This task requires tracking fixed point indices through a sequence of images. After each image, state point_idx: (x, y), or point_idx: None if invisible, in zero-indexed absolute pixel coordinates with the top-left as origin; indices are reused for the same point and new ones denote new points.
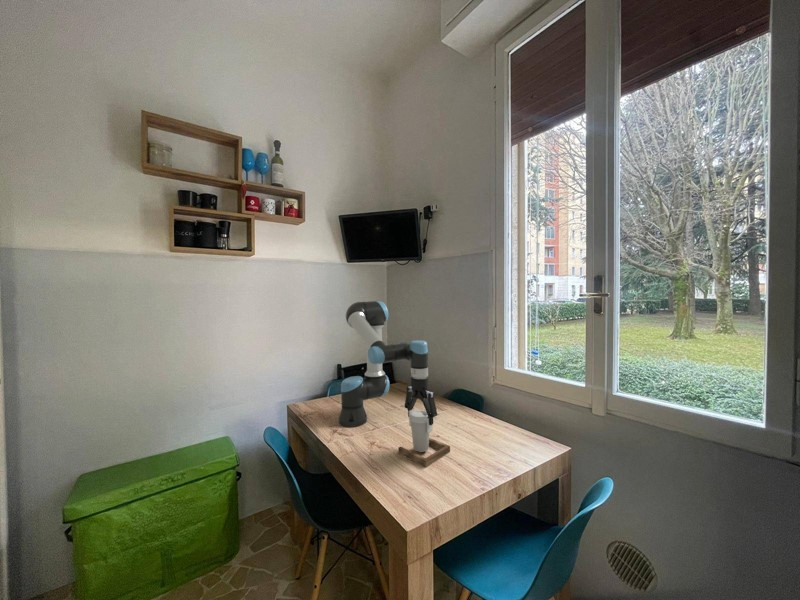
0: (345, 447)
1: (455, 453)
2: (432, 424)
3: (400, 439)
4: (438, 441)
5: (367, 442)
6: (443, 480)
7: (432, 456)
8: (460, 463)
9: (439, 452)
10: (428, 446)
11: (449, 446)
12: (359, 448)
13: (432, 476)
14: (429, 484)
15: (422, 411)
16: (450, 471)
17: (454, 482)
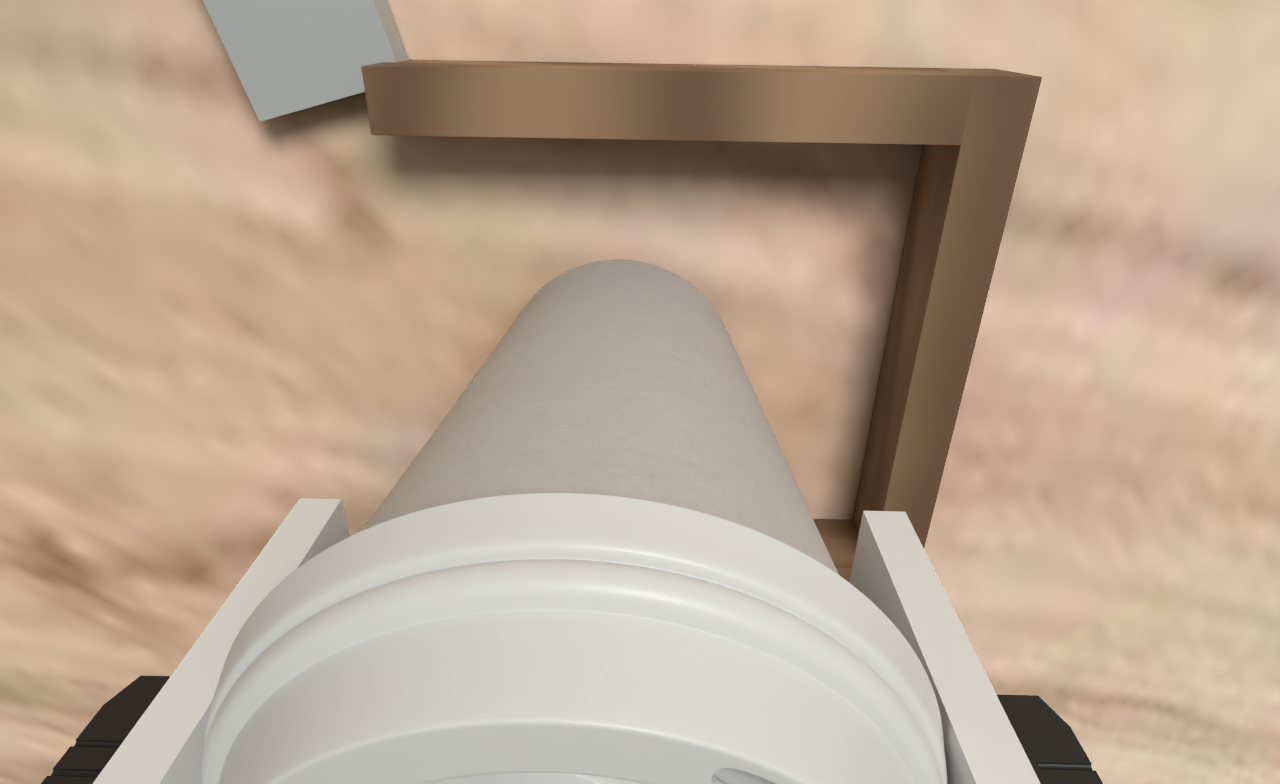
0: (10, 748)
1: (1096, 51)
2: (1031, 716)
3: (153, 285)
4: (771, 78)
5: (8, 586)
6: (1146, 605)
7: (927, 496)
8: (1248, 249)
9: (967, 368)
10: (725, 329)
11: (1036, 95)
12: (102, 694)
13: (1020, 618)
14: (1047, 700)
15: (419, 762)
16: (1168, 461)
17: (1263, 572)
